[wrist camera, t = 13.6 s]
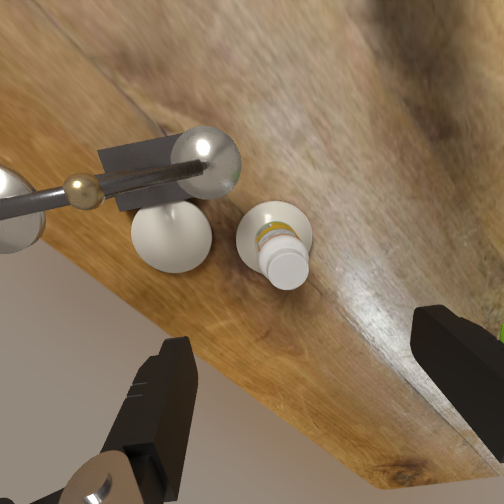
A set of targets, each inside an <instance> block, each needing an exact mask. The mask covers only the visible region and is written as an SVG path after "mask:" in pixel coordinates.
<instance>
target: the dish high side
mask: <svg viewBox="0 0 504 504" xmlns="http://www.w3.org/2000/svg"><path fill="white" fill-rule="evenodd" d="M131 237H132V242H133V245H134V247H135V249H136V251H137V253H138V254H139V256H140V257H141V258H142V259H143V260H144V261H145V262H146V263H147V264H149V265H150V266H152V267H154V268H155V269H158V270H160V271H163V272H168V273H182V272H186V271H189V270H192V269H194V268H195V267H197V266H198V265H200V264H201V263H202V262H203V261H204V259H205V258H206V256H207V255H208V253H209V250H210V247H211V243H212V229H211V225H210V223H209V220H208V218H207V217H206V215H205V214H204V212H203V211H202V210H201V209H200V208H199V207H198V206H196V205H195V204H194V203H192V202H190V201H188V200H186V199H183V200H178V201H172V202H167V203H162V204H157V205H152V206H147V207H142V208H141V209H140V210H139V211H138V213H137V214H136V216H135V217H134V220H133V223H132V227H131Z"/></svg>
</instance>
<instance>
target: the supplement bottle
mask: <svg viewBox="0 0 504 504" xmlns="http://www.w3.org/2000/svg"><path fill="white" fill-rule="evenodd" d="M255 248H256V253H257V258H258V264H259V267H260V270H261V272H262V273H263V275H264V276H265V277H266V278H267V279H269V280H270V282H271V283H272V284H273V285H274V286H275V287H277V288H279V289H282V290H292V289H295V288H297V287H299V286H300V285H302V284H303V283H304V282H305V280H306V278H307V276H308V272H309V268H308V262H309V255H308V251H307V249H306V247H305V245H304V244H303V242H302V241H301V240H300V238H299V237H298V236H297V234H296V233H295V231H294V230H293V229H292V228H291V227H290V226H289V225H288V224H286V223H284V222H281V221H272V222H268V223H266V224H264V225H263V226H262V227H261V228H260V229H259V230H258V232H257V234H256V236H255Z"/></svg>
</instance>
